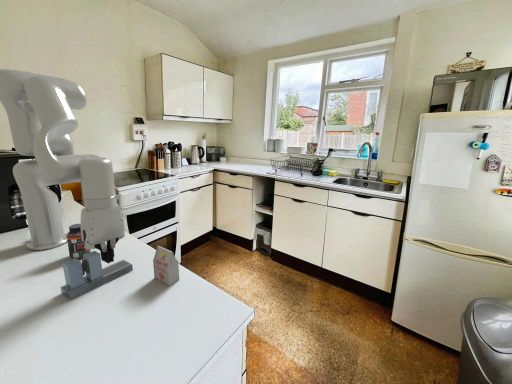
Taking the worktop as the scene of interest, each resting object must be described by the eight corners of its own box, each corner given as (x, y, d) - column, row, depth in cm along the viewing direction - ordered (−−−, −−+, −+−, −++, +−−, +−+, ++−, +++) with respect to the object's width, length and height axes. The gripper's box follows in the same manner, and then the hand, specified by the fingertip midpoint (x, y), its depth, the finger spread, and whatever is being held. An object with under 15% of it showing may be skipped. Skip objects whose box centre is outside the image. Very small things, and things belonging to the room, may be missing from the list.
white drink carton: (164, 272, 75) (162, 243, 73) (179, 279, 72) (177, 249, 69) (154, 278, 72) (152, 248, 70) (169, 286, 69) (167, 254, 66)
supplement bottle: (80, 261, 79) (75, 230, 76) (65, 259, 80) (59, 227, 78) (95, 253, 85) (91, 223, 82) (81, 250, 86) (76, 221, 83)
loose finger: (84, 278, 67) (80, 255, 66) (97, 272, 70) (94, 250, 68) (89, 281, 66) (85, 259, 64) (103, 275, 69) (100, 253, 67)
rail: (61, 293, 64) (56, 263, 62) (123, 265, 78) (121, 239, 76) (70, 300, 61) (64, 269, 59) (132, 270, 76) (130, 244, 73)
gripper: (119, 194, 75) (125, 247, 79) (62, 206, 62) (73, 268, 67) (134, 198, 71) (139, 254, 75) (76, 211, 58) (86, 277, 63)
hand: (108, 260), depth 71 cm, fingers closed
